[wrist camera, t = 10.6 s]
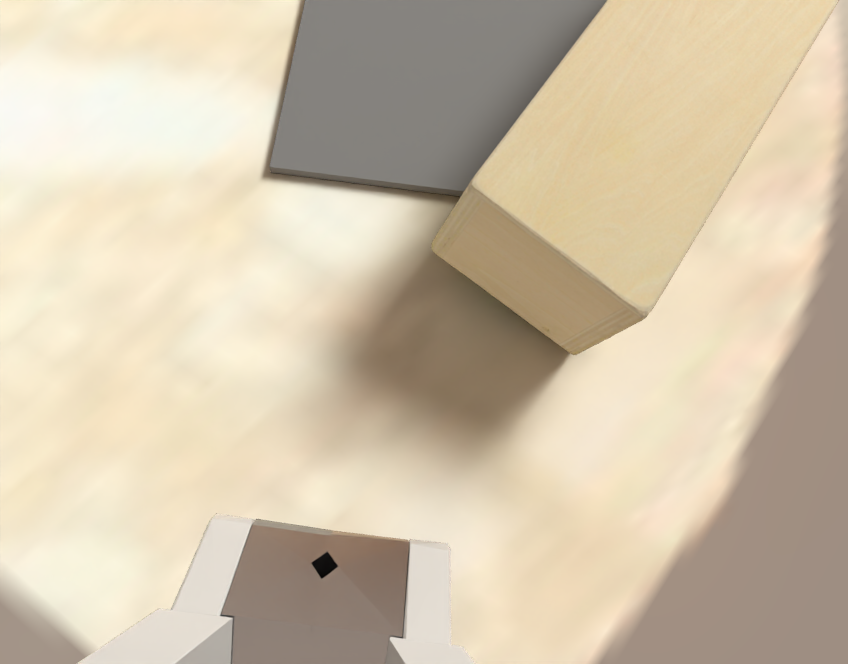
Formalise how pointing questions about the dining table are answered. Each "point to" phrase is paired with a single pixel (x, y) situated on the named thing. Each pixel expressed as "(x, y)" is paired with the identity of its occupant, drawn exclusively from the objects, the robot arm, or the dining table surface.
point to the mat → (416, 86)
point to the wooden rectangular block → (624, 159)
